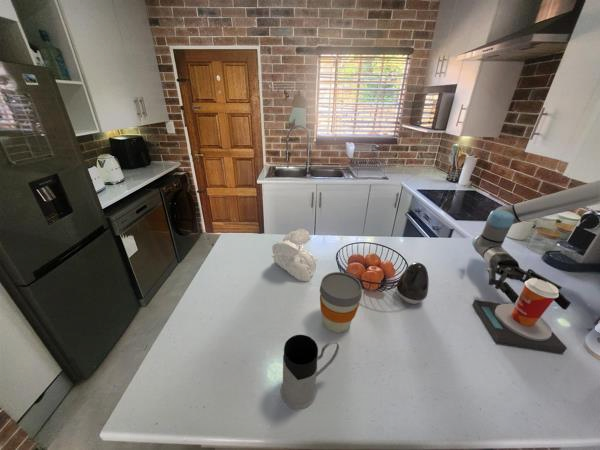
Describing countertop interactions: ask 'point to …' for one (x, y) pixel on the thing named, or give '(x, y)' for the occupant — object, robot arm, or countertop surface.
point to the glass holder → (302, 370)
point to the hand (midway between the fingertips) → (541, 302)
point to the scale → (516, 328)
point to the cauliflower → (295, 255)
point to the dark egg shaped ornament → (413, 283)
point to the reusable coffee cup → (339, 300)
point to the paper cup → (534, 301)
